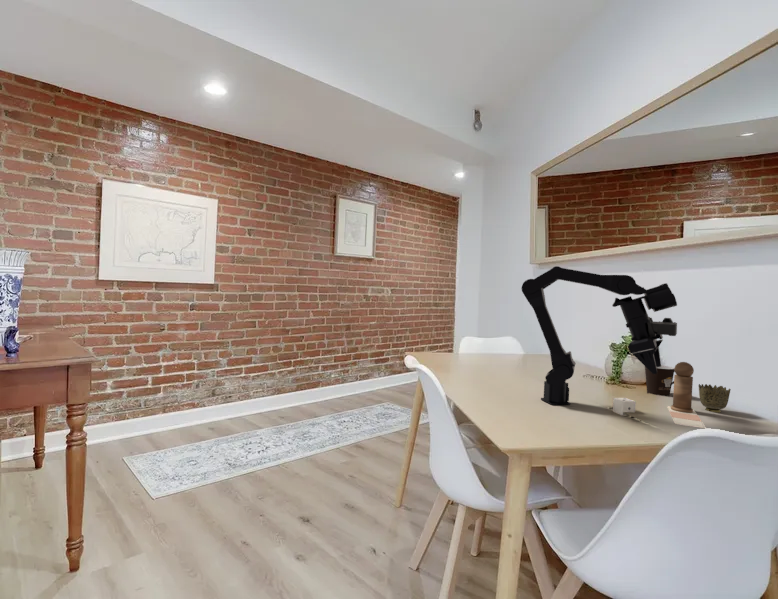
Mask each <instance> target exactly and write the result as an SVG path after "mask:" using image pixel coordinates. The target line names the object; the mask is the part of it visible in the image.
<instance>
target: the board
mask: <svg viewBox="0 0 778 599" xmlns="http://www.w3.org/2000/svg"><path fill="white" fill-rule="evenodd" d="M671 406H672V405H671ZM671 406H669V405H666V407H667V409H668V411H669V413H670V414H669V415H670V416H671V418H672V420H673V422H674V424H675V425H679V426H680V425H681V426H686V427H694V428H700V429H705V428H707V427H706V425H705V424H704V422H703V421H702V420H701V418H700V416H699V415H698V413H697V411H695V409H693V412H692V413H683V412H678V411H674V410H672V409H671Z"/></svg>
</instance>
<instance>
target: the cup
mask: <svg viewBox="0 0 778 599" xmlns="http://www.w3.org/2000/svg"><path fill="white" fill-rule="evenodd" d="M730 393H731V388H728V389H727V387H726V386H725V387H724V386H723V385H719V386H717V384H715V385H713V386H712V385H711V384H707V383H706V384H702V383H701V384H700V383H699V384H698V395H699V401H700V404H702V406H703V407H704V408H705V409H704V410H705V411H707V412H712V413H721V412H722V411H721V410H723V409H725V408H726V407H727V406H728V403H729V400H730V399H729V398H730Z"/></svg>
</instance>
